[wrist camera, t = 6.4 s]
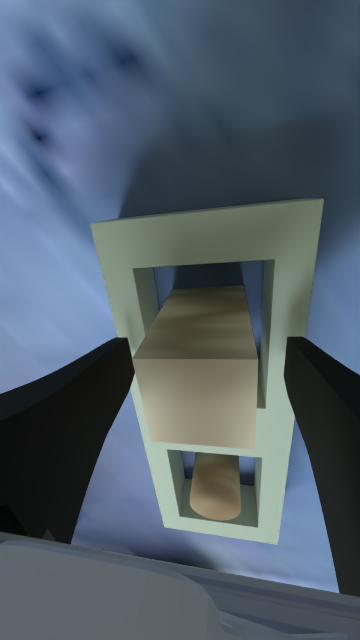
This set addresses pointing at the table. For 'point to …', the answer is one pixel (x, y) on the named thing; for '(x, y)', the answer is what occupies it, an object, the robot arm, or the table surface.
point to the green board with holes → (276, 325)
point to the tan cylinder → (216, 486)
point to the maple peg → (200, 369)
